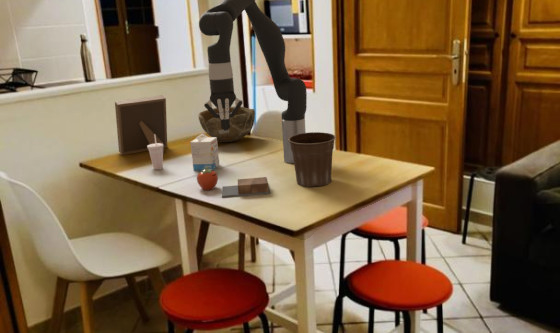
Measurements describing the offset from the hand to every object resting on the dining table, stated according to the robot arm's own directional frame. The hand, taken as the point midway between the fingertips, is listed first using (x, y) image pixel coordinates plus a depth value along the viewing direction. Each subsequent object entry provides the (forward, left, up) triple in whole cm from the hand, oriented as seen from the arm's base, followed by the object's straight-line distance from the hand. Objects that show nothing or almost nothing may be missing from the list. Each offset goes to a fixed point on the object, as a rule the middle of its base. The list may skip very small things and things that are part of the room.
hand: (225, 130), depth 171 cm
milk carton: (+10, -34, -22) cm, 42 cm away
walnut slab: (-2, +1, -20) cm, 20 cm away
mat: (-5, -1, -22) cm, 22 cm away
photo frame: (+39, -68, -22) cm, 82 cm away
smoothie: (+30, -39, -22) cm, 54 cm away
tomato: (+8, -7, -22) cm, 24 cm away
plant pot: (-29, -4, -22) cm, 37 cm away
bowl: (+1, -77, -22) cm, 80 cm away
